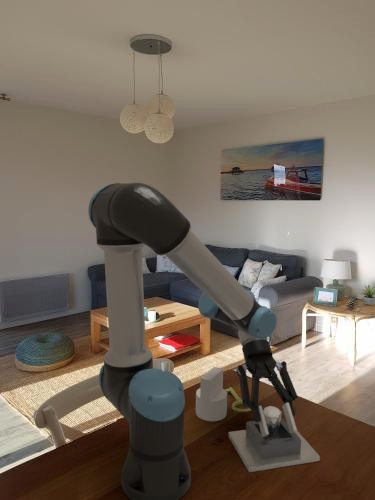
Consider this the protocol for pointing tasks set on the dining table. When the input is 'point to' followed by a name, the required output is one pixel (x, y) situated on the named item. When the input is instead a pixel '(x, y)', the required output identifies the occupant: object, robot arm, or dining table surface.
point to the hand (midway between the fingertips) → (279, 433)
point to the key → (238, 401)
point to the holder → (271, 448)
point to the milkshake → (272, 422)
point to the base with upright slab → (211, 396)
